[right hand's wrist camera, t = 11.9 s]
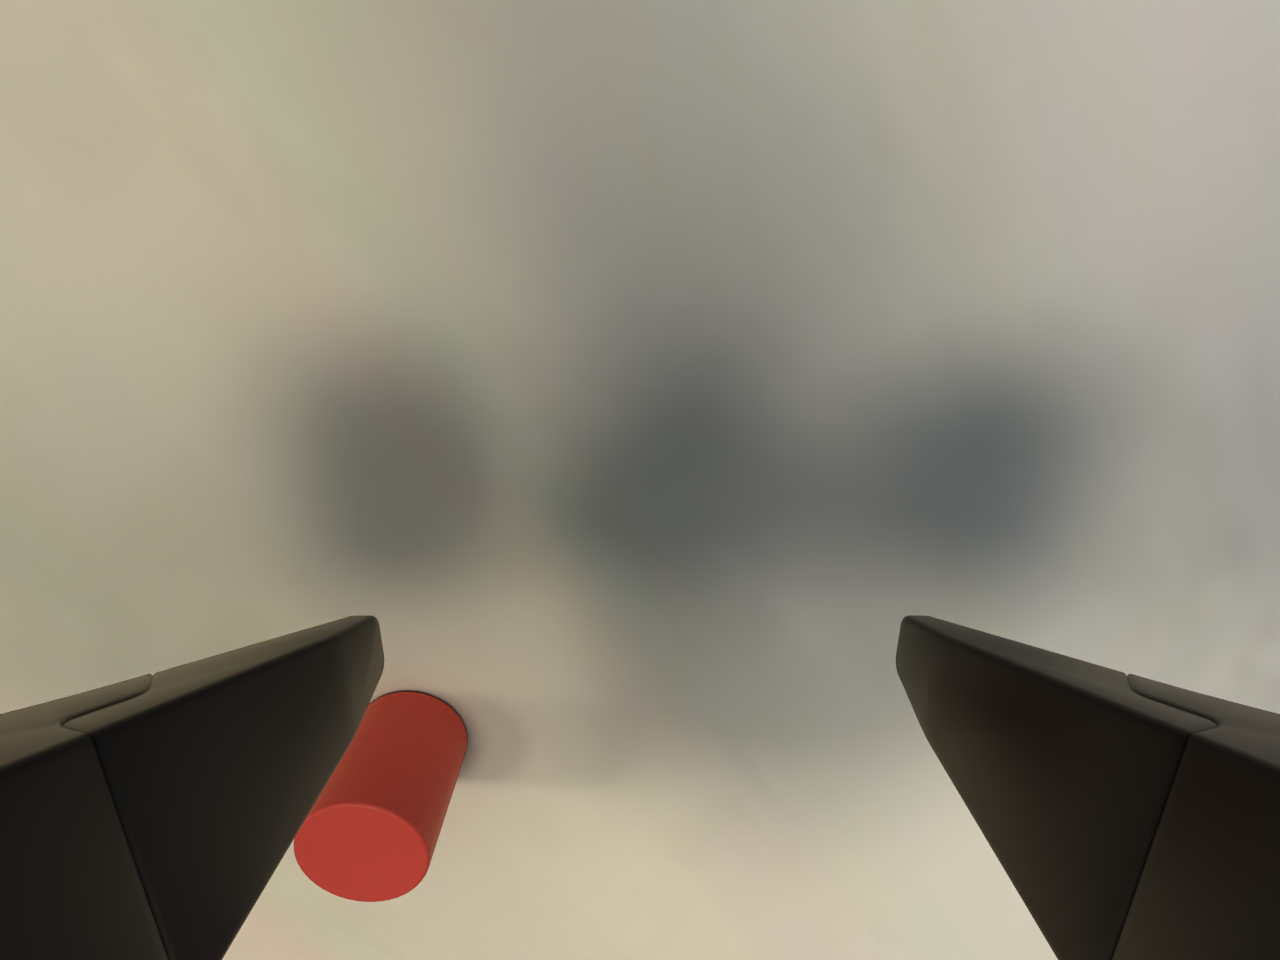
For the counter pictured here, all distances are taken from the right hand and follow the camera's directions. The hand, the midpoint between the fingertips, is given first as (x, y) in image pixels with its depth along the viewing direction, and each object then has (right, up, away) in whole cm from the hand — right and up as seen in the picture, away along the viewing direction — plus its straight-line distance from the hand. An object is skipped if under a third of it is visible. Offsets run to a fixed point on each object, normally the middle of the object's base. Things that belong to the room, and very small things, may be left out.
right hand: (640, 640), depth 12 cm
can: (-7, -5, +10) cm, 13 cm away
